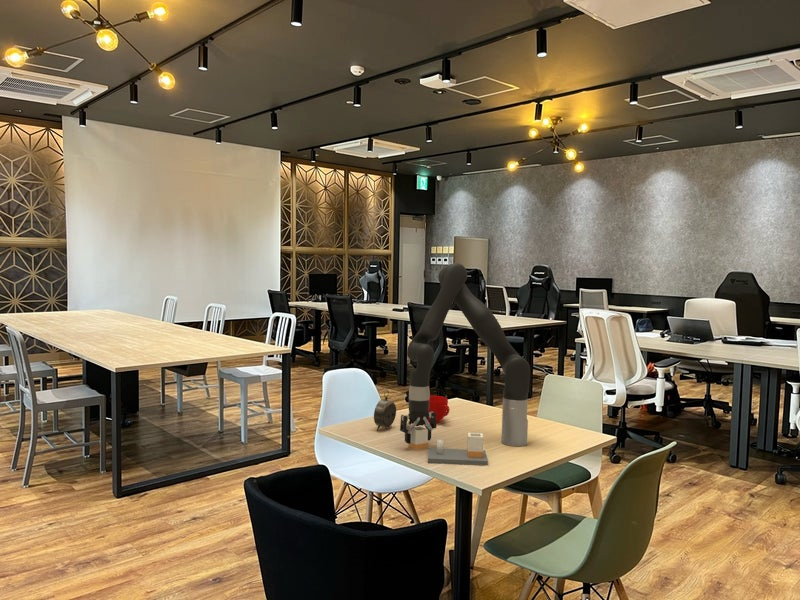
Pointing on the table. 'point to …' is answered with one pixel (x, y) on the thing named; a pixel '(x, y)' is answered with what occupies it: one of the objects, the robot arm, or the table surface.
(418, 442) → the sleeve
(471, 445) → the pin board
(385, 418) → the alarm clock
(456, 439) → the table surface
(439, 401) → the ceramic cup
